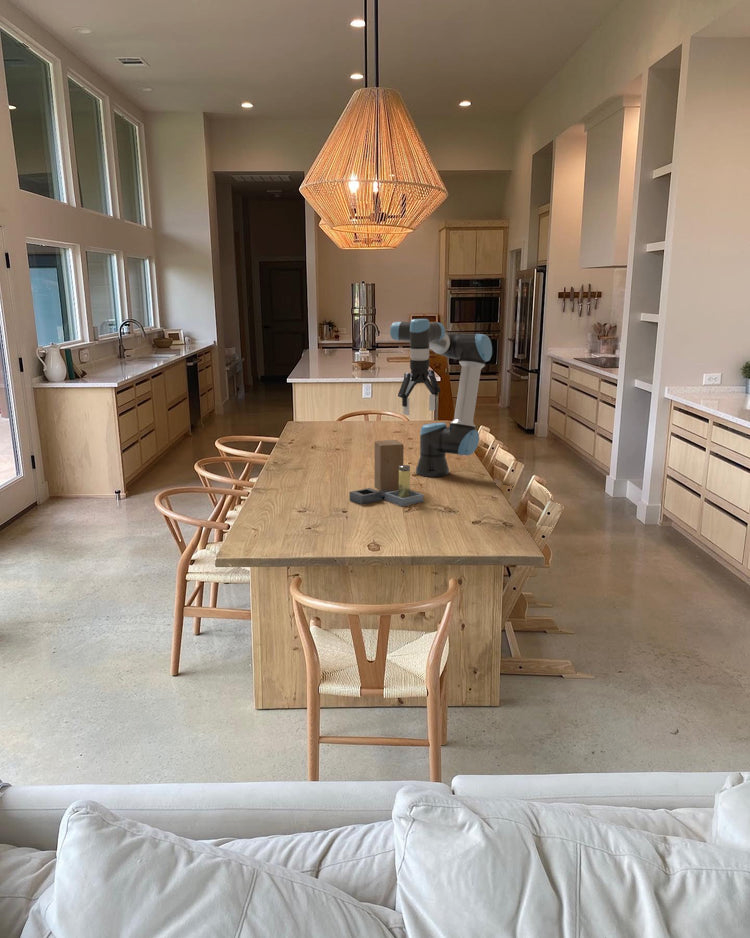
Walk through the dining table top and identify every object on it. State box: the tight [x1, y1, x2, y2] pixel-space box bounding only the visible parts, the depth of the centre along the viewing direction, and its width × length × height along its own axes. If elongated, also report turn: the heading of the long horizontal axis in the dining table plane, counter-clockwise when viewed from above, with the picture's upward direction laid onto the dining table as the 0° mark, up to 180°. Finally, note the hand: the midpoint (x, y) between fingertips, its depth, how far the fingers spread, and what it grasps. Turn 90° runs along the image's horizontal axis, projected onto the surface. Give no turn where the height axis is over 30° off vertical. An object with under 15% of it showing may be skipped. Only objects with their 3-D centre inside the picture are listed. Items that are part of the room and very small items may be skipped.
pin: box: [399, 464, 411, 498], centre depth 292 cm, size 4×4×14 cm
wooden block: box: [373, 439, 405, 491], centre depth 310 cm, size 10×10×20 cm
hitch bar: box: [349, 487, 392, 506], centre depth 296 cm, size 18×8×4 cm, turn 128°
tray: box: [384, 489, 424, 507], centre depth 293 cm, size 11×11×3 cm
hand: (419, 412), depth 294 cm, fingers open, 13 cm apart
